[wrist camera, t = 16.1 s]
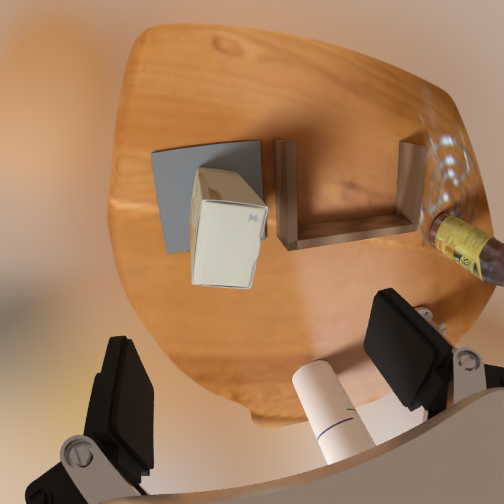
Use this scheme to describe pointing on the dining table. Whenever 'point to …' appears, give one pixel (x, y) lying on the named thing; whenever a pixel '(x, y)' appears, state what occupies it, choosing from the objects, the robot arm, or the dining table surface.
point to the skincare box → (224, 229)
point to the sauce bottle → (469, 248)
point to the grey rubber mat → (183, 175)
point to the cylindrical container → (331, 412)
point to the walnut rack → (352, 228)
